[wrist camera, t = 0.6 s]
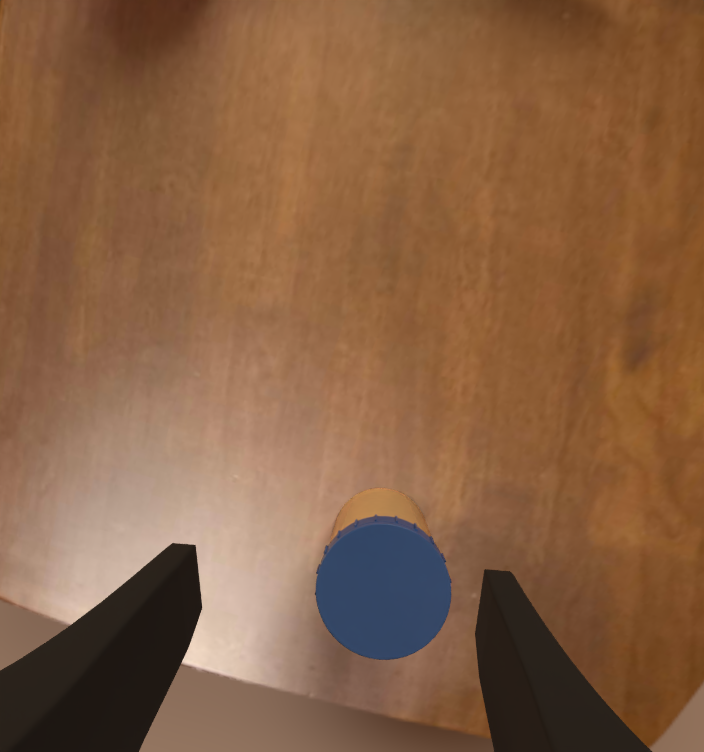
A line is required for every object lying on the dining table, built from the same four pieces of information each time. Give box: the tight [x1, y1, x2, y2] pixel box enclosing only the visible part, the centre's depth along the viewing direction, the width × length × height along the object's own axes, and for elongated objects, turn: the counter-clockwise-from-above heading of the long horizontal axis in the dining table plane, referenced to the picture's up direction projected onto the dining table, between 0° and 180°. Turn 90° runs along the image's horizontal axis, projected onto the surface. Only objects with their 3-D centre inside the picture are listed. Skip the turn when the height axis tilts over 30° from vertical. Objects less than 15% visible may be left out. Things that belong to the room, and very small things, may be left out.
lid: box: [315, 514, 451, 660], centre depth 23 cm, size 6×6×2 cm
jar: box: [330, 488, 431, 543], centre depth 27 cm, size 6×6×8 cm
